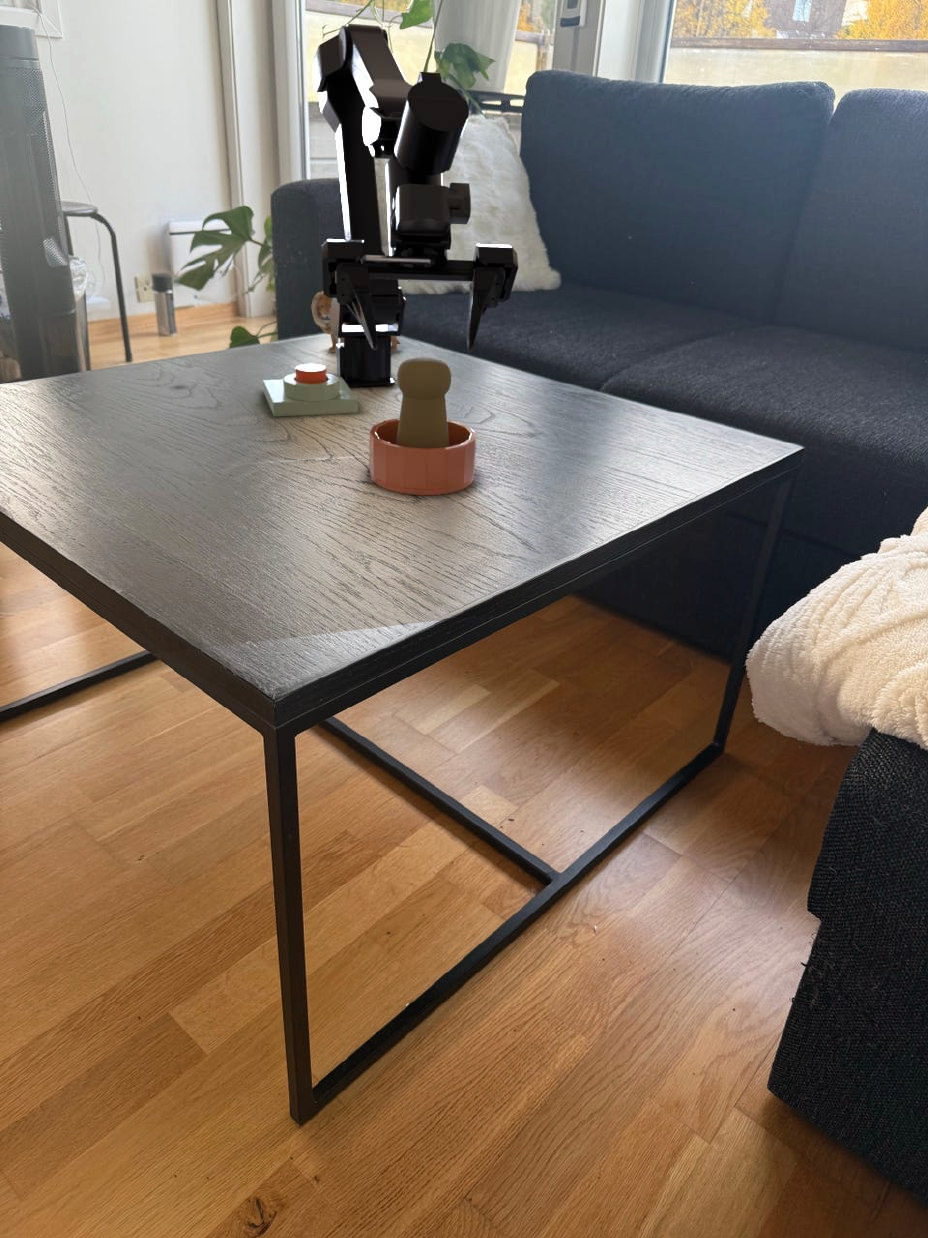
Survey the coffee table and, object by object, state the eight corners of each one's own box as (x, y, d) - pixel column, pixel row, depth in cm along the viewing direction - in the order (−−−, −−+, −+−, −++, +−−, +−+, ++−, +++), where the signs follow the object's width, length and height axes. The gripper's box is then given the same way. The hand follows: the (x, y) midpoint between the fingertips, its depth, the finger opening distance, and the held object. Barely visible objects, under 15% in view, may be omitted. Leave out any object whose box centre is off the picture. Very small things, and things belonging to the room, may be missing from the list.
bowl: (456, 455, 95) (457, 414, 93) (487, 491, 87) (490, 446, 84) (360, 461, 92) (360, 419, 90) (383, 498, 84) (383, 453, 81)
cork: (421, 485, 86) (423, 370, 80) (379, 467, 89) (379, 357, 84) (464, 471, 89) (469, 360, 84) (422, 455, 93) (425, 348, 88)
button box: (342, 390, 115) (341, 362, 113) (358, 413, 107) (358, 384, 105) (264, 393, 112) (262, 365, 111) (274, 417, 104) (272, 387, 102)
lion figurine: (322, 360, 128) (320, 295, 124) (306, 352, 132) (303, 288, 127) (408, 350, 136) (409, 288, 131) (390, 343, 139) (390, 282, 135)
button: (323, 377, 108) (323, 363, 108) (329, 385, 105) (328, 370, 105) (294, 378, 107) (293, 364, 107) (298, 386, 104) (298, 371, 104)
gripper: (318, 142, 79) (322, 294, 76) (522, 152, 82) (536, 299, 78) (321, 226, 90) (325, 363, 86) (502, 233, 93) (513, 366, 89)
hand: (423, 348), depth 85 cm, fingers open, 9 cm apart
